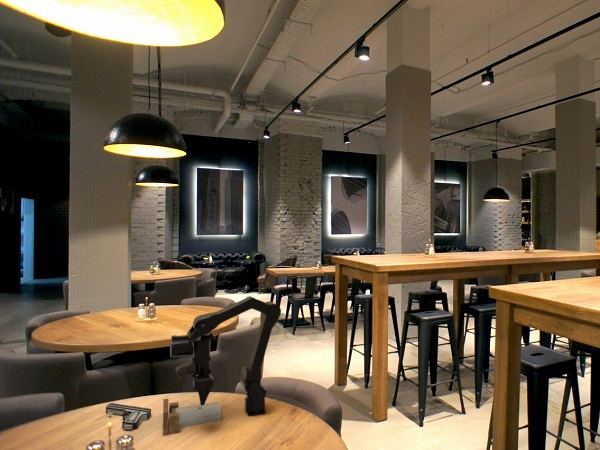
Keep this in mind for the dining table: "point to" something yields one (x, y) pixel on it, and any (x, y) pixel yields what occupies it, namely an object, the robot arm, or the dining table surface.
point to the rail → (198, 414)
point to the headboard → (170, 418)
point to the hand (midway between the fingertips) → (201, 399)
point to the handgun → (129, 415)
